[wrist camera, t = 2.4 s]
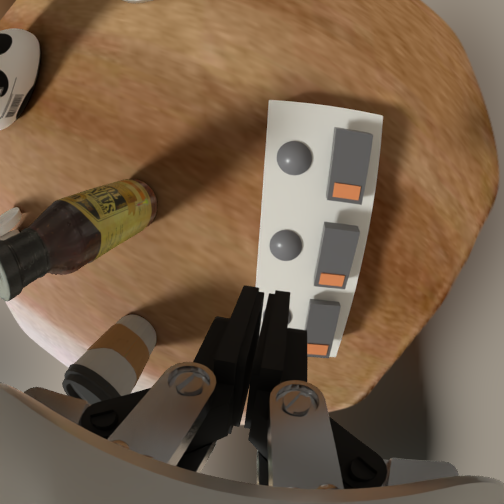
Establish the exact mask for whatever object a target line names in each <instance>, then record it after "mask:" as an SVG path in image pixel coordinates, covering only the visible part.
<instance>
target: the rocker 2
mask: <svg viewBox="0 0 504 504" xmlns="http://www.w3.org/2000/svg"><path fill="white" fill-rule="evenodd" d="M372 141H373V134H371V133H368V132H363V131H357V130H351V129H345V128H339V127H334V134H333V143H332V152H331V160H330V168H329V176H328V183H327V190H326V198H327V200H330V201H338V202H345V203H352V204H359V205H362V200H363V195H364V190H365V185H366V179H367V173H368V168H369V161H370V155H371V148H372Z"/></svg>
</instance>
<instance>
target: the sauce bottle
mask: <svg viewBox="0 0 504 504" xmlns="http://www.w3.org/2000/svg"><path fill="white" fill-rule="evenodd" d="M156 213H157V199H156V196H155V194H154V192H153V190H152V189H151V188H150V187H149V186H148V185H147V184H146V183H144V182H143V181H140V180H138V179H136V180H135V179H132V180H128V179H125V180H121V181H117V182H113V183H110V184H106V185H103V186H100V187H96V188H93V189H90V190H86V191H83V192H80V193H77V194H74V195H71V196H68V197H65V198H62V199H59V200H56V201H55V202H53V203H52V204H51V205H50V206H49V207H48V208H47V209H46V210H45V211H44V212H43V213H42V214H41V215H40V216H39V217H38V218H37V219H36V220H35V221H34V222H33V223H32V224H31V225H30V226H29V227H28V228H25V229H24V230H22V231H21V232H20V233H18V234H16V235H14V236H11V237H10V238H8V239H6V240H0V298H2V299H3V300H4V301H10V300H11V299H13V298H14V297H16V296H17V295H19V294H20V293H21V291H22V289H23V288H24V287H25V286H27V285H28V284H30V283H31V282H33V281H34V280H36V279H37V278H41V277H43V276H44V275H45V274H46V273H51V274H55V275H57V274H60V275H63V274H69V273H72V272H75V271H77V270H78V269H80V268H81V267H82V266H84V265H86V264H87V263H91V262H92V261H94V260H96V259H97V258H99V257H100V256H102V255H103V254H105V253H106V252H108V251H110V250H111V249H113V248H114V247H116V246H118V245H119V244H121V243H123V242H124V241H126V240H128V239H129V238H131V237H133V236H134V235H136V234H138V233H139V232H141V231H143V230H144V229H145V227H147V226H149V225H150V224H151V223H152V221H153V220H154V218H155V215H156Z"/></svg>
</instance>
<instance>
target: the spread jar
mask: <svg viewBox="0 0 504 504" xmlns="http://www.w3.org/2000/svg"><path fill="white" fill-rule="evenodd" d="M21 217H22V214H21V212H20V210H19V208H18V207H15V208H12V209H10V210H8V211H6V212H5V213H4V214H2V215H1V216H0V240H6V239H8V238H10V237H11V236H14V235H16V234H18V233H20V232H21V230H19V229H15V230H12V231H10V230H11V229H12V228H13V227H14V226H15V225H16V224H17V223H18V222H19V221H20V219H21ZM9 231H10V232H9ZM7 232H8V233H7Z"/></svg>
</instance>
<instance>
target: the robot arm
mask: <svg viewBox="0 0 504 504" xmlns="http://www.w3.org/2000/svg"><path fill="white" fill-rule="evenodd" d="M123 1H125V2H128V3H144V2H148V1H152V0H123ZM263 301H264V292H259V288H258V287H251V286H244V287H243V289H242V291H241V294H240V296H239V299H238V301H237V304H236V306H235V308H234V311H233V313H232V316H231V318H230V319H229V318H223V317H218V316H217V317H215V319H214V321H213V323H212V325H211V327H210V329H209V331H208V333H207V335H206V337H205V339H204V341H203V343H202V345H201V347H200V349H199V351H198V353H197V355H196V357H195V359H194V361H193V362H183V363H178V364H175V365H173V366H171V367H170V368H169V369H167V370H166V371H165V372H164V373H163V375H162V376H161V377H160V378H159V379H158V381H157V382H156V383H155V384H154V385H153V386H152V388H149V389H145V390H142V391H138V392H135V393H131V394H127V395H124V396H120V397H116V398H112V399H108V400H104V401H100V402H97V403H94V404H92V405H90V404H88V402H87V401H86V400H82V399H78V398H74V397H71V396H67V395H63V394H60V393H57V392H54V391H50V390H47V389H44V388H41V387H33V388H30V389H28V390H26V391H25V392H24V393H23V392H21V391H19V390H17V389H16V388H13V387H11V386H9V385H6V384H3V383H0V504H504V483H503V482H501V481H500V480H497V479H494V478H490V477H483V476H470V475H467V476H459V475H458V471H457V469H456V468H455V466H453V465H452V464H451V463H449V462H444V461H421V460H408V459H398V458H391V459H390V460H383V459H382V458H381V457H380V456H379V455H378V454H377V453H376V452H374V451H373V450H372V449H370V448H369V447H368V446H366V445H365V444H363V443H362V442H361V441H360V440H358V439H357V438H356V437H354V436H353V435H352V434H350V433H349V432H348V431H347V430H345V429H344V428H343V427H341V426H340V425H339V424H338V423H337V422H335V421H334V420H333V419H332V418H330V417H329V415H328V410H327V406H326V401H325V398H324V396H323V394H322V392H321V391H320V390H319V389H318V388H317V387H315V386H314V385H312V384H310V383H307V330H302V329H294V328H288V317H289V305H290V292H286V291H278V290H276V291H275V294H271V293H269V296H268V300H267V305H266V309H265V313H264V318H263V322H262V326H261V318H262V309H263ZM260 326H261V331H260ZM259 334H260V335H259ZM249 385H250V387H249ZM248 389H249V395H248V403H247V411H246V419H245V426H244V427H245V428H249V429H250V433H249V441H250V442H251V443H252V444H253V445H254V446H255V447H256V448H257V450H258V451H257V484H251V483H245V482H239V481H233V480H228V479H223V478H219V477H214V476H209V475H205V474H202V473H201V471H202V469H203V467H204V466H205V464H206V462H207V460H208V458H209V456H210V454H211V453H212V451H213V449H214V447H215V445H216V442H217V440H219V439H221V438H223V437H225V436H227V435H228V434H231V432H232V428H233V426H238V427H239V426H240V422H241V418H242V414H243V410H244V406H245V402H246V398H247V394H248Z"/></svg>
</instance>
